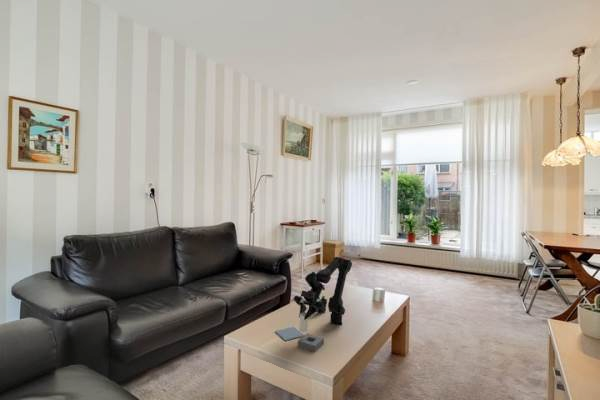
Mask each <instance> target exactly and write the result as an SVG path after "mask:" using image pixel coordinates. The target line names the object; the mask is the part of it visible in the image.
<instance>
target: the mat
mask: <svg viewBox="0 0 600 400" xmlns="http://www.w3.org/2000/svg"><path fill="white" fill-rule="evenodd" d="M274 333H276V335H278V336H279V337H280V338H281V339H283V340H284V341H285V342H287V341H291V340H295V339H301V338H302V337H303V336H304V335H305V334H304V332H302V331H299V329H297V328H296V327H295V326H291V327H287V328H282V329H278V330H275V331H274Z"/></svg>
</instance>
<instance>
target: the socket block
mask: <svg viewBox="0 0 600 400" xmlns="http://www.w3.org/2000/svg"><path fill="white" fill-rule="evenodd" d="M324 344H325V338H324V337H322V336H321V337H320V336H318V335H314V334H311V333H309V332H306V333H305V334H304V336H303V337H300V338H298V340H297V347H298V348H301V349H305V350H307V351H309V352H313V353H316V352H317V351H318V350H319V349H320V348H321V347H322V346H323V345H324Z"/></svg>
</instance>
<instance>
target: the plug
mask: <svg viewBox="0 0 600 400" xmlns="http://www.w3.org/2000/svg"><path fill="white" fill-rule="evenodd" d="M306 313H307V312H306V311H305V312H302V313H300V312H299V314H300V318H299V329H298V330H299V331H300V332H301V333H305V332H306V333H307V332H308V330H309V329H308V323H309V322H308V319H309V317H308V318H307V319H306V320H305V319H304V318H305V315H306Z"/></svg>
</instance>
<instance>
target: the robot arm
mask: <svg viewBox="0 0 600 400" xmlns="http://www.w3.org/2000/svg"><path fill="white" fill-rule="evenodd" d="M352 266H353V262H352V261H351V259H346V258H343V257H340V256H334V257H333V259H332V261H331V262H330V263H329V264H328V265H327V266H326V267H325V268H323V269H320V270H318V271H317V272H315V271H311V272H310V273H308V274H307V275H306V276H305V278H304V279H305V281H306V283H307V285H308V287H310V290H307V291H306V290H303V289H302V291H301V293H300V295H295V296H294V297H293V299H292V300H293V301H294V302H295V303H296V305H298V306H299V307H300V308H299V316H298V317H299V319H300V313H302V312H305V313H306V315H305V318H304V319H305V320H306V319H307V318H308V319H309V317H311V316H313V315H314V314H315V313H318V311H317V310H318V309H319V310H320V312H322V313H323V314H325V313H326V311H327V308H328V312H329V313H330V315H329V316H330V319H329V320H330V323H331V325H341V326H342V325H343V315H345V313H346V309H345V307H344V306H343V305H344V301H343V298H342V296H343V291H344V288H345V283H346V277H347V275H348V274H349V272H350V271H351V269H352ZM336 270H338V274H337V278H336V279H337V280H336V284H335V288H334V292H333V295H332V296H331V297H329V299H328V302H327V306H326V307H325V306H324V305H323V303H320V302H317V301H319V300H320V299H321V297H320V295H321V294H322V291H326V288H325V285H326V284H328V283H329V282H330V280H331V279H332V275H333V273H334V272H335V271H336ZM324 284H325V285H324ZM307 306H308V308H307ZM322 313H321V314H322Z"/></svg>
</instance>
